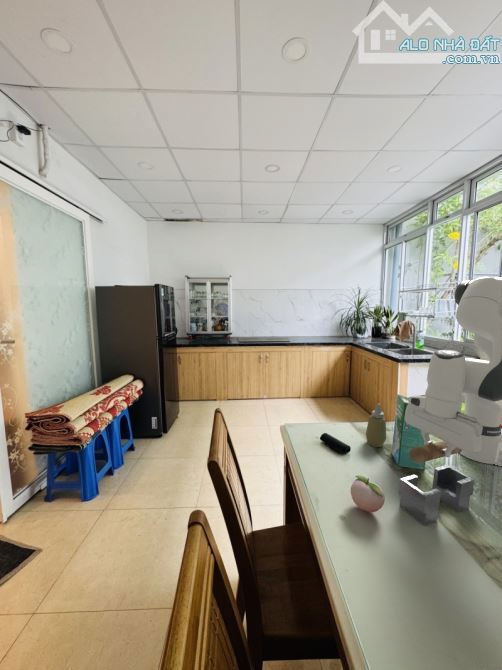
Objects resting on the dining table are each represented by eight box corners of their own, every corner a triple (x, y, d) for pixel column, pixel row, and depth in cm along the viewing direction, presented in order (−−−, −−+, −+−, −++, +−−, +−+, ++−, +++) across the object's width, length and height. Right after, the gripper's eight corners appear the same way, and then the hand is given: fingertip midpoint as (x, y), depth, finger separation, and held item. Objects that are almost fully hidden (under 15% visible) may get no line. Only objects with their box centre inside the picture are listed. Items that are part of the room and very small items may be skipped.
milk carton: (424, 469, 100) (432, 404, 97) (397, 465, 102) (404, 401, 99) (416, 456, 109) (422, 396, 106) (391, 453, 111) (397, 393, 108)
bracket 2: (457, 512, 80) (461, 484, 79) (431, 494, 87) (434, 468, 86) (470, 507, 82) (474, 479, 81) (443, 490, 89) (447, 464, 88)
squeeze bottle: (386, 443, 119) (390, 403, 117) (384, 451, 112) (388, 409, 110) (366, 437, 123) (370, 399, 121) (363, 445, 116) (366, 404, 114)
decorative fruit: (342, 506, 81) (345, 475, 80) (358, 495, 86) (360, 466, 85) (373, 528, 73) (376, 494, 72) (387, 514, 78) (391, 482, 77)
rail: (457, 455, 83) (446, 444, 86) (465, 447, 81) (453, 436, 84) (417, 466, 77) (407, 453, 80) (425, 457, 75) (414, 445, 78)
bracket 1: (411, 501, 84) (414, 474, 83) (437, 520, 77) (440, 491, 75) (397, 506, 82) (400, 478, 81) (422, 526, 74) (425, 496, 73)
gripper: (490, 419, 71) (483, 469, 72) (417, 393, 89) (413, 433, 91) (475, 422, 68) (468, 474, 70) (403, 395, 87) (399, 436, 89)
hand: (436, 451), depth 81 cm, fingers closed on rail, 4 cm apart
